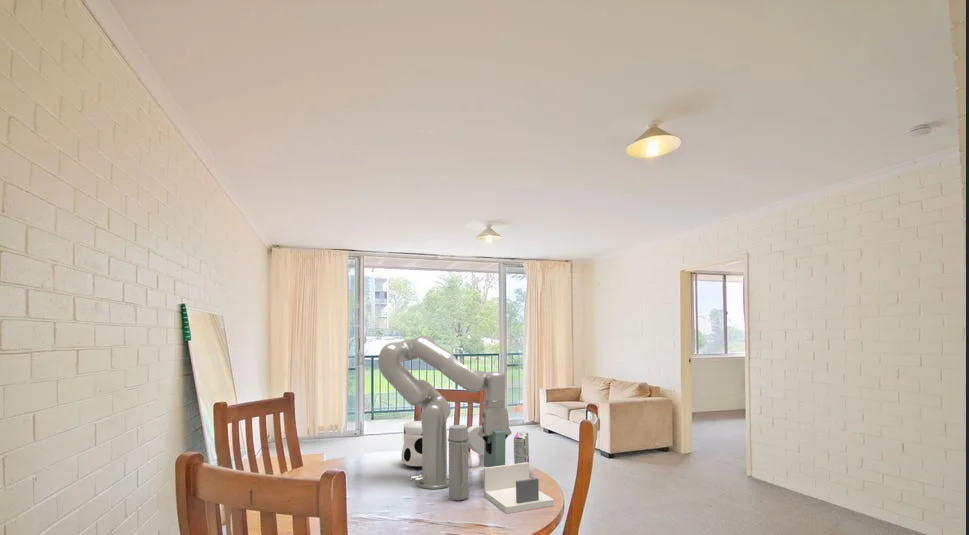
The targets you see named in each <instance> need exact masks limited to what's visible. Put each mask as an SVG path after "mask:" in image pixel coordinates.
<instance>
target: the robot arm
mask: <svg viewBox="0 0 969 535" xmlns="http://www.w3.org/2000/svg"><path fill="white" fill-rule="evenodd" d="M418 359H419V360H421V361H423V362H424V363H426V364H427V365H429V366H430V367H432V368H434V369H436V370H437V371H438V372H440V373H441V374H442V375H443V376H445V377H446V378H448V379H449V380H450V381H452V382H453V383H455V384H456V385H458V386H459V387H461V388H463V389H464V390H466V391H468V392H470V393H478V392H480V391H482V390H485V399H484V401H482V404H481V405H482V406H484V408H483V411H482V417H481V426H482V428H481V429H480V431H479V433H478V436H480V437H481V438H482V439H483V440H484V441H485V442H486V451H487V453H489V454H491V443H490V441H491V436H493V431H502V430H503V431H505V432H506V439H507V438H508V437H509V436H510V435H512V434H513V433H512V430H511V429H510V422H509V421H510V419H509V414H508V408H507V407H506V374H505V373H504V372H500V371H490V372H489V371H482V370H472V369H470V368H468V367H467V366H465V365H464V364H463V363H461V362H460V361H459V360H458V359H457V358H456V356H455V355H454V354H453V353H452V352H451V351H449V350H447V349H445V348H444V347H443V346H440V345H439V344H437V343H436V342H435V340H434V339H433V338H432V337H431V336H427V335H420V336H417V337H415V338H411V339H408V340H406V339H405V340H402V341H396V342H390V343H388V344H386V345H384V346H383V347H382V348H381V350H380V351H379V355H378V360H377V363H378V364H377V365H378V369H379V371H380V373H381V375H382V376H383V378H384V379H385V380H386V381H387V382H388V383H389V384H390V385H391V386H392V387H393V388H394V390H396V392H397V393H398V394H399V395H400V396H401V398H403V399H404V400H405V401H406V402H407V404H409V405H410V406H413V407H420V408H421V409H422V411H421V415H420V418H421V419H420V421H421V423H422V468H421V469H422V471H420V473H419V474H417V475H410V476H409V480H410V482H415V483H417V484H418V486H419V487H420V488H423V489H427V490H437V489H443V488H447V487H449V477H448V475H447V473H448V472H447V470H448V468H447V467H448V465H447V464H448V460H447V459H448V456H447V453H448V450H447V449H448V448H447V447H448V446H447V445H448V439H447V438H448V437H447V436H448V435H447V420H448V418H449V417H450V415H451V410H452V409H451V405H450V403H449V401H447V399H446V398H445V397H444V396H443V395H442V394H441V393H440V392H439V391H438V390H437V389H436V388H435V387H434V386H433V385H432V384H431V383H430V382H428V381H426V380H424V379H417V378H416V377H415V376H414V375H413V374H412V373H411V372H410V371H409V370H408V369H407V368H405V367H404V366H403V365H402V363H404V362H407V361H414V360H418ZM483 433H484V434H486V436H484V435H483Z"/></svg>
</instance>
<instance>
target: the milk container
mask: <svg viewBox="0 0 969 535" xmlns="http://www.w3.org/2000/svg"><path fill="white" fill-rule="evenodd" d="M401 462H402V464H403V466H406V467H408V468H413V469H422V423H421V420H413V421H408V422H406V423H404V425H403V445H402V450H401Z"/></svg>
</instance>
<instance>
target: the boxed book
mask: <svg viewBox="0 0 969 535" xmlns="http://www.w3.org/2000/svg"><path fill="white" fill-rule="evenodd" d="M485 436H486V434H485ZM506 440H507V438H506V432H505V431H503V430H502V431H493V436H491V441H490V443H491V454H489V453H487V451H486V442H485V441H484V466H485V467H494V466H502V465H506Z"/></svg>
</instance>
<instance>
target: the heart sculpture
mask: <svg viewBox="0 0 969 535" xmlns="http://www.w3.org/2000/svg"><path fill="white" fill-rule="evenodd" d="M481 428H482V425H476V424H475V425H472V426H469V427H467V431H468V439H469V440H470V442H469V440H468V442H469V443H468V449H470V450H471V451H472V452H474V453H477V454H478V455H479V466H474V467H470V468H468V469H469V470H472V471H471V472H474V471H475V472H478V471H484V468H486V467H485V466H484V440H483V439H482V438H481V437H480V436H478V433H479V431H480V429H481ZM483 435H484V436H485V434H484V433H483ZM469 470H468V471H469Z"/></svg>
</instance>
